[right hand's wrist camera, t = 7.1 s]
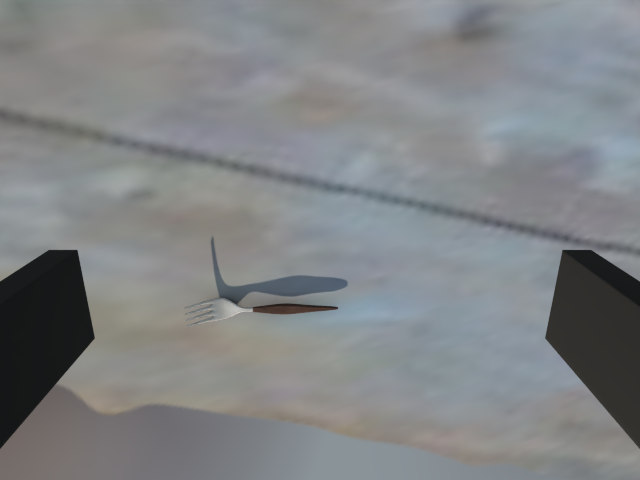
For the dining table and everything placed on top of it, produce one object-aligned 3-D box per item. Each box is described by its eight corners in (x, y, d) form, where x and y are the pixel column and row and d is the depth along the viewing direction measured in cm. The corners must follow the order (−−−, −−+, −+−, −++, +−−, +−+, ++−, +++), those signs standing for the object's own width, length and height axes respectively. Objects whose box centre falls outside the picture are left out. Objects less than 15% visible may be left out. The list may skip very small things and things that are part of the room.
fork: (337, 316, 49) (338, 326, 47) (191, 319, 49) (186, 328, 48) (337, 295, 48) (338, 303, 46) (188, 297, 48) (183, 306, 47)
